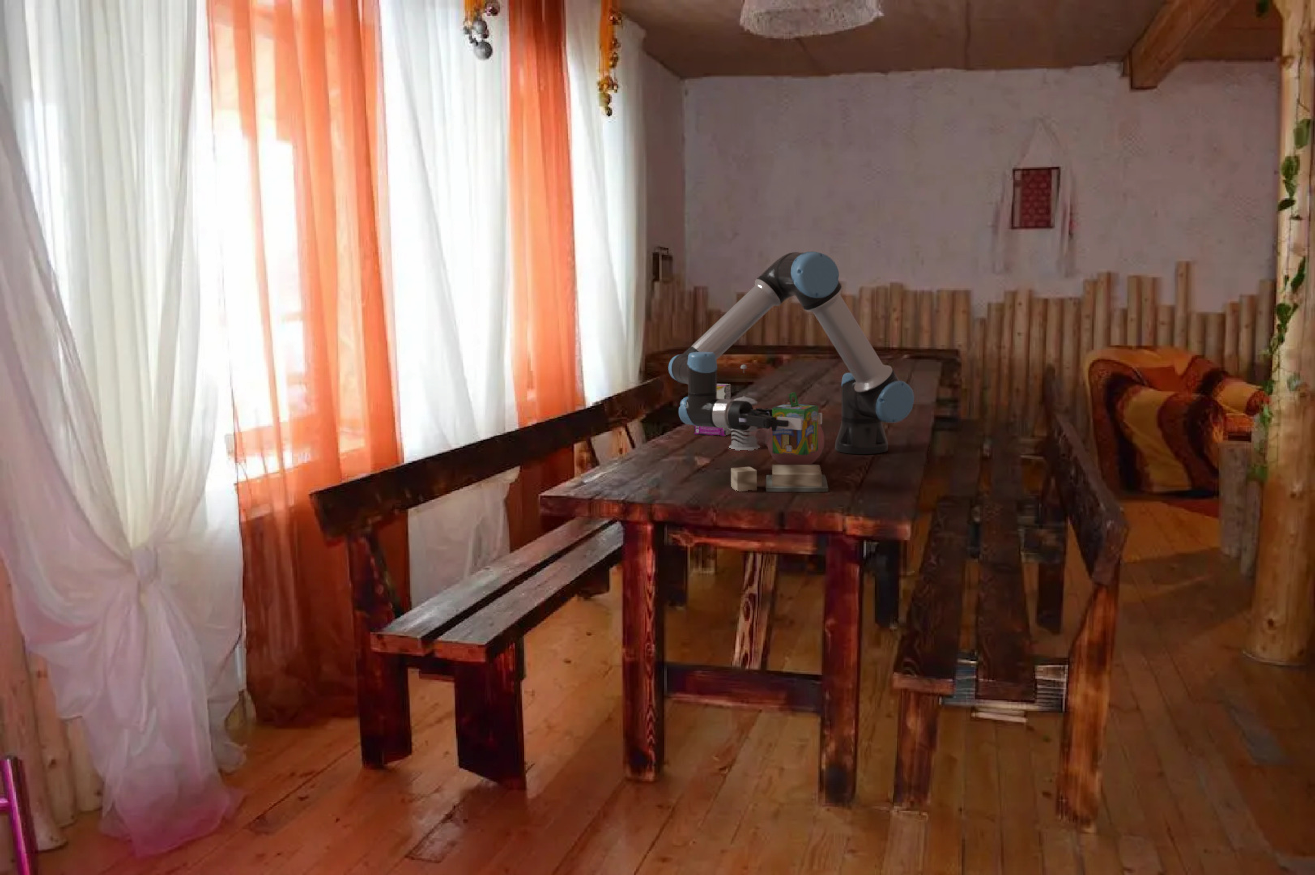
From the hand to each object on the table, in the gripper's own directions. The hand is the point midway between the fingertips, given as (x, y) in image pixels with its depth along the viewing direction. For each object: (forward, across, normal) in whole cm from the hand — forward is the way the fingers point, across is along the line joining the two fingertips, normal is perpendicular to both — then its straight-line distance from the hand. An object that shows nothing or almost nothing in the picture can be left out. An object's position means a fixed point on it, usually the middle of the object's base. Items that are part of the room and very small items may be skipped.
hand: (811, 421), depth 263 cm
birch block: (-13, +10, -17) cm, 24 cm away
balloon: (-17, -18, -17) cm, 30 cm away
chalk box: (-4, 0, -8) cm, 9 cm away
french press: (-44, -39, -17) cm, 61 cm away
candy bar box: (-64, -54, -17) cm, 85 cm away
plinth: (-4, 0, -16) cm, 17 cm away
